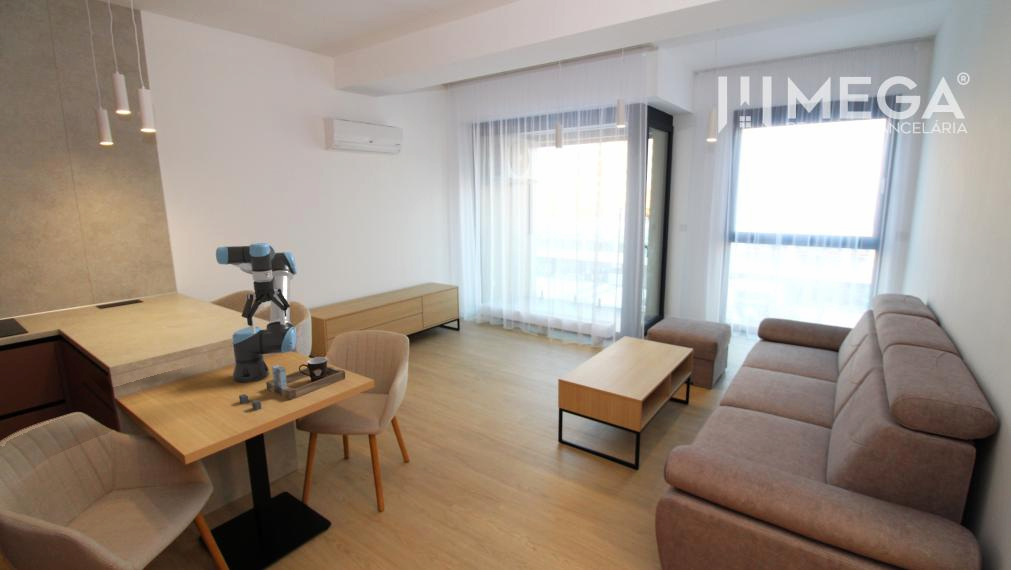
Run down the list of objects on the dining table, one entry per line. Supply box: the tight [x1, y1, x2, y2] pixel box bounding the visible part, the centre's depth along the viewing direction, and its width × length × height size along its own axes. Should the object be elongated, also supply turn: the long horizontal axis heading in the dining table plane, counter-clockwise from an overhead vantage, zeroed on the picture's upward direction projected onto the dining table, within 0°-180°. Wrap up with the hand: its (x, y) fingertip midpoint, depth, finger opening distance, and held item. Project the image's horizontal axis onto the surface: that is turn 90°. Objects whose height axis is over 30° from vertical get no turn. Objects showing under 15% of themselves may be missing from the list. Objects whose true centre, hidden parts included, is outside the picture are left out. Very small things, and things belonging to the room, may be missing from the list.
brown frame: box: [265, 364, 346, 400], centre depth 216 cm, size 18×28×12 cm
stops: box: [238, 393, 262, 411], centre depth 196 cm, size 13×2×3 cm, turn 56°
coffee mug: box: [298, 356, 328, 383], centre depth 220 cm, size 12×9×10 cm
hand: (268, 328), depth 205 cm, fingers open, 13 cm apart
